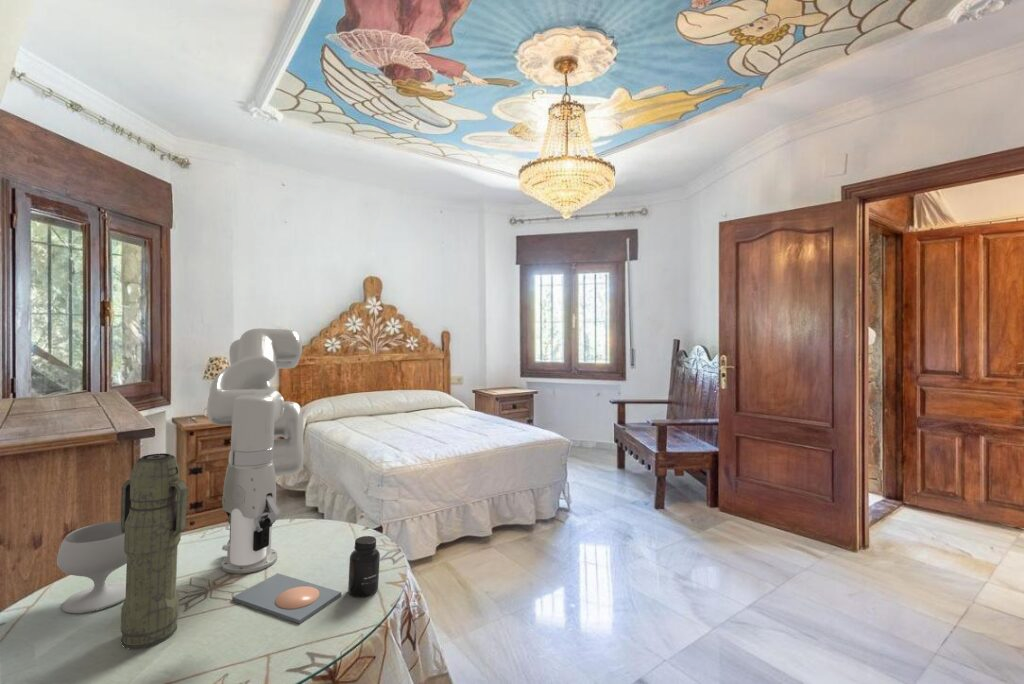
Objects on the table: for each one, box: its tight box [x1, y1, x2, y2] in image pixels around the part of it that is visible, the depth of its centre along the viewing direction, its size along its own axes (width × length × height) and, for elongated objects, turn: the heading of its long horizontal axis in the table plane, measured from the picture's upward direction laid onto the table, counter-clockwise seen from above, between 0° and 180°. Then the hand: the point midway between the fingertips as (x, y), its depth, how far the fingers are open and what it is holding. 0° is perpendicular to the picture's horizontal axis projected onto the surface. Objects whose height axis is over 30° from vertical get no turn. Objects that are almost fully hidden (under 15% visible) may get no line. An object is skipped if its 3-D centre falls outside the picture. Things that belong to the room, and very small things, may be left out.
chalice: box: [56, 520, 127, 614], centre depth 103 cm, size 14×14×15 cm
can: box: [229, 505, 267, 566], centre depth 95 cm, size 6×6×12 cm
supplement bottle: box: [347, 535, 381, 598], centre depth 111 cm, size 7×7×12 cm
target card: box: [231, 572, 342, 625], centre depth 106 cm, size 20×12×1 cm, turn 68°
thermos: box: [120, 453, 189, 650], centre depth 92 cm, size 9×12×35 cm
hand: (249, 543), depth 95 cm, fingers closed on can, 5 cm apart
